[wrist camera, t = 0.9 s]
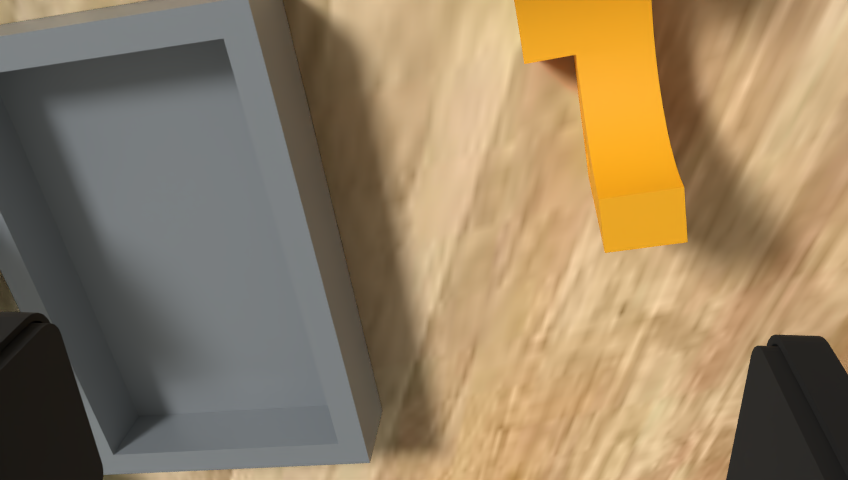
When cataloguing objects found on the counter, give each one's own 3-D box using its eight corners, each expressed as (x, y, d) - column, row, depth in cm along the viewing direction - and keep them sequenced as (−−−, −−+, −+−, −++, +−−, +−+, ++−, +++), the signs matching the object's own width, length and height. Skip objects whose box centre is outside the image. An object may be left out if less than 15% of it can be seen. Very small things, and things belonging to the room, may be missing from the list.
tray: (277, -21, 28) (247, -4, 25) (382, 410, 37) (369, 462, 34) (-41, 31, 30) (-105, 53, 27) (132, 425, 39) (99, 475, 36)
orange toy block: (494, -144, 25) (488, -139, 20) (627, -175, 24) (660, -180, 19) (544, 181, 30) (550, 260, 25) (654, 165, 30) (687, 241, 24)
